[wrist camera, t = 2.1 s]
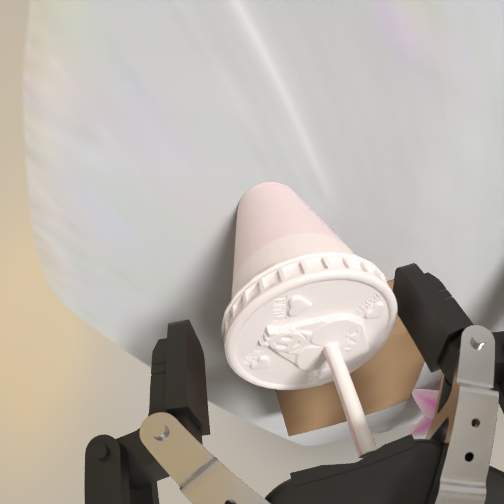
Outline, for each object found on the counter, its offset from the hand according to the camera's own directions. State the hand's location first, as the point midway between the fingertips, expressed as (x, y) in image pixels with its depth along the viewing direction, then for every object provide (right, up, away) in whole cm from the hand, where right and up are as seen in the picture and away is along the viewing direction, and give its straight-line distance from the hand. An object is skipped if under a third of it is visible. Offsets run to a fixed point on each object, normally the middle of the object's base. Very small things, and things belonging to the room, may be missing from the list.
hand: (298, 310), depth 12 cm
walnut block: (+6, -6, +15) cm, 17 cm away
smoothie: (-1, +5, +7) cm, 8 cm away
